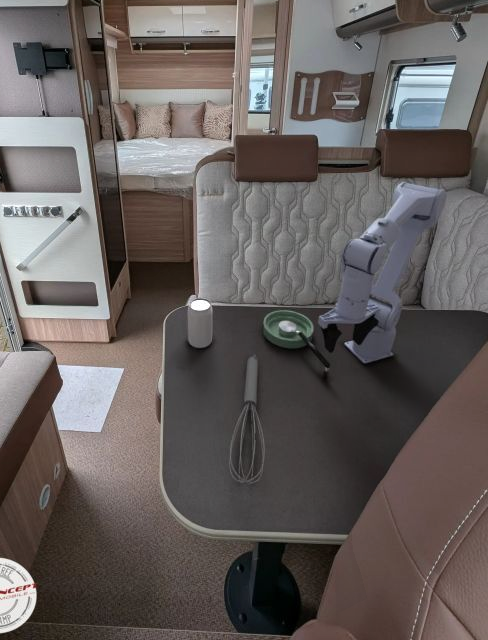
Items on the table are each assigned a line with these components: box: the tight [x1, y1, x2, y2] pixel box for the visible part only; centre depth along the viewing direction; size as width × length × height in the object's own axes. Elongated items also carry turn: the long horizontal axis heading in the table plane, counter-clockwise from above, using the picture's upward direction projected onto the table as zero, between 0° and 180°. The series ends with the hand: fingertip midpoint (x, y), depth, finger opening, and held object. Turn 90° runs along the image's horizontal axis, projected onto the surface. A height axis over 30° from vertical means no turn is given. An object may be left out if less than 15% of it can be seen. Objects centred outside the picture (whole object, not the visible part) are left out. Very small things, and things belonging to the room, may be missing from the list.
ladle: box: [278, 321, 331, 379], centre depth 94 cm, size 20×5×5 cm, turn 20°
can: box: [187, 297, 213, 349], centre depth 95 cm, size 6×6×12 cm
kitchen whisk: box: [229, 353, 266, 486], centre depth 76 cm, size 6×34×6 cm, turn 172°
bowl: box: [262, 309, 315, 349], centre depth 101 cm, size 14×14×3 cm
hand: (342, 346), depth 81 cm, fingers open, 7 cm apart
